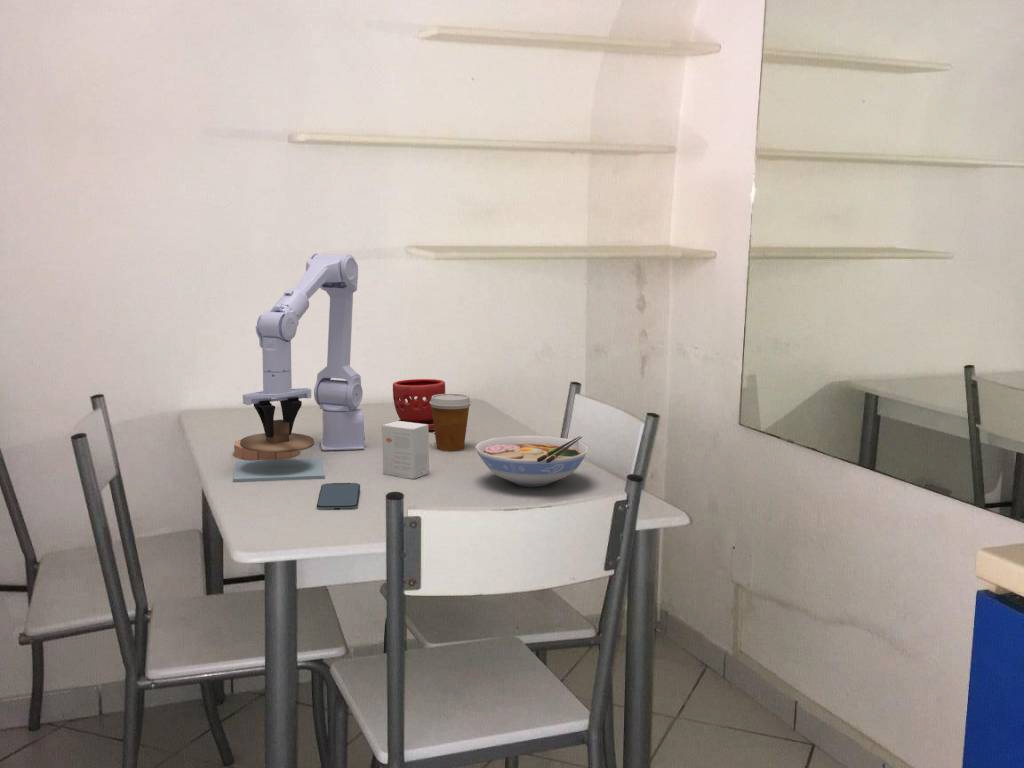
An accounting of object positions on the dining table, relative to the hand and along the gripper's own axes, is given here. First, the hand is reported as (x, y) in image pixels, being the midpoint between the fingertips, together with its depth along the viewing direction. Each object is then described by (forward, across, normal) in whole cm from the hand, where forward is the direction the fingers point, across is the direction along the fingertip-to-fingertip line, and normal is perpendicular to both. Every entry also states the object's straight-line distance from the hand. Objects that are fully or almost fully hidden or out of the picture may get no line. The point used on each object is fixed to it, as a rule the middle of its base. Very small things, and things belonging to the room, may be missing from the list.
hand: (278, 435), depth 219 cm
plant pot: (+8, -49, -20) cm, 53 cm away
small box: (+8, -20, +18) cm, 28 cm away
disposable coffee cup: (+8, -42, +3) cm, 42 cm away
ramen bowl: (+8, -36, +39) cm, 53 cm away
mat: (+7, 0, 0) cm, 7 cm away
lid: (+2, 0, 0) cm, 2 cm away
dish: (+7, -6, -16) cm, 19 cm away
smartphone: (+8, +1, +26) cm, 28 cm away
